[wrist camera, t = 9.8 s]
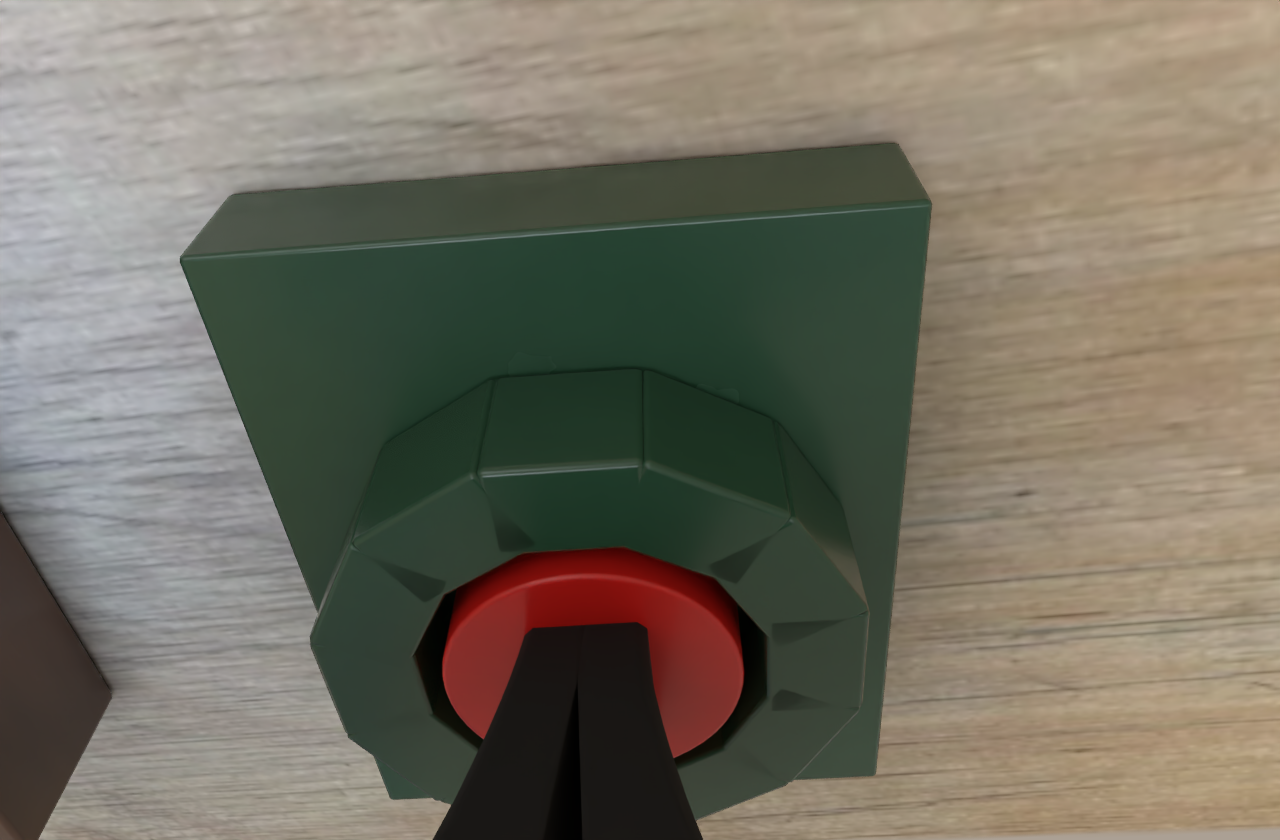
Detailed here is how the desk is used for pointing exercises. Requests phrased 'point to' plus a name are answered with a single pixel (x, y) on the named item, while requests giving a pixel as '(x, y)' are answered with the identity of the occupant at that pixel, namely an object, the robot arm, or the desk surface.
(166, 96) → the desk surface
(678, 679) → the button
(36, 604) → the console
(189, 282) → the button box
